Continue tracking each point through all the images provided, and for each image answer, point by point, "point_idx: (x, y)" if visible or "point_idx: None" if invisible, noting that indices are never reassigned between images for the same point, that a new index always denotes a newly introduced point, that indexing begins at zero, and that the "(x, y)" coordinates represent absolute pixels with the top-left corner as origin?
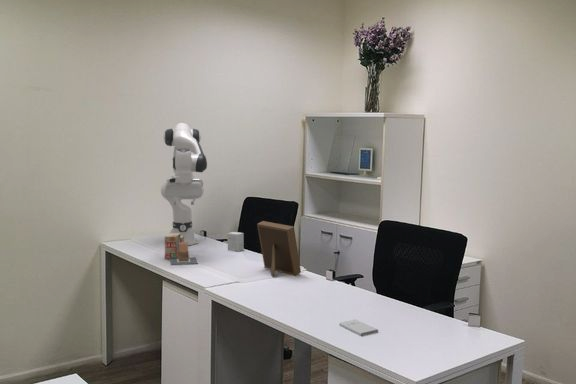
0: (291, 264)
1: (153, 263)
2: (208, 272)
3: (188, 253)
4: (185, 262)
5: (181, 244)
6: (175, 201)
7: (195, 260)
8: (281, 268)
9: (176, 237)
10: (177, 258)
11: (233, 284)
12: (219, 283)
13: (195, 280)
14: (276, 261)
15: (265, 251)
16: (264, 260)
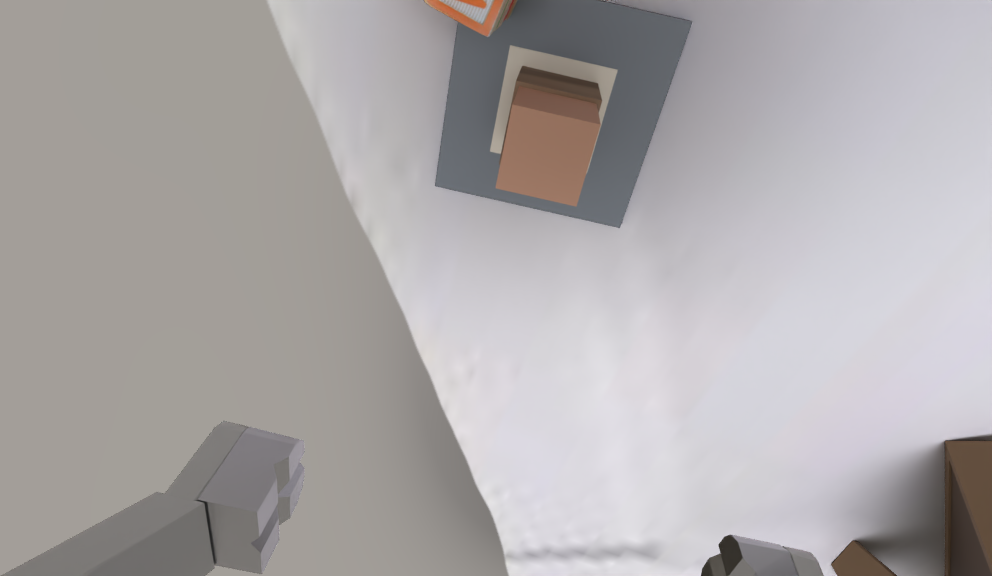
0: None
1: (322, 81)
2: (599, 405)
3: None
4: None
5: (514, 190)
6: (245, 525)
7: (637, 146)
8: (953, 546)
9: (500, 11)
10: (523, 16)
11: (617, 567)
12: (571, 542)
13: (492, 482)
14: (965, 562)
15: (984, 562)
16: (960, 488)
